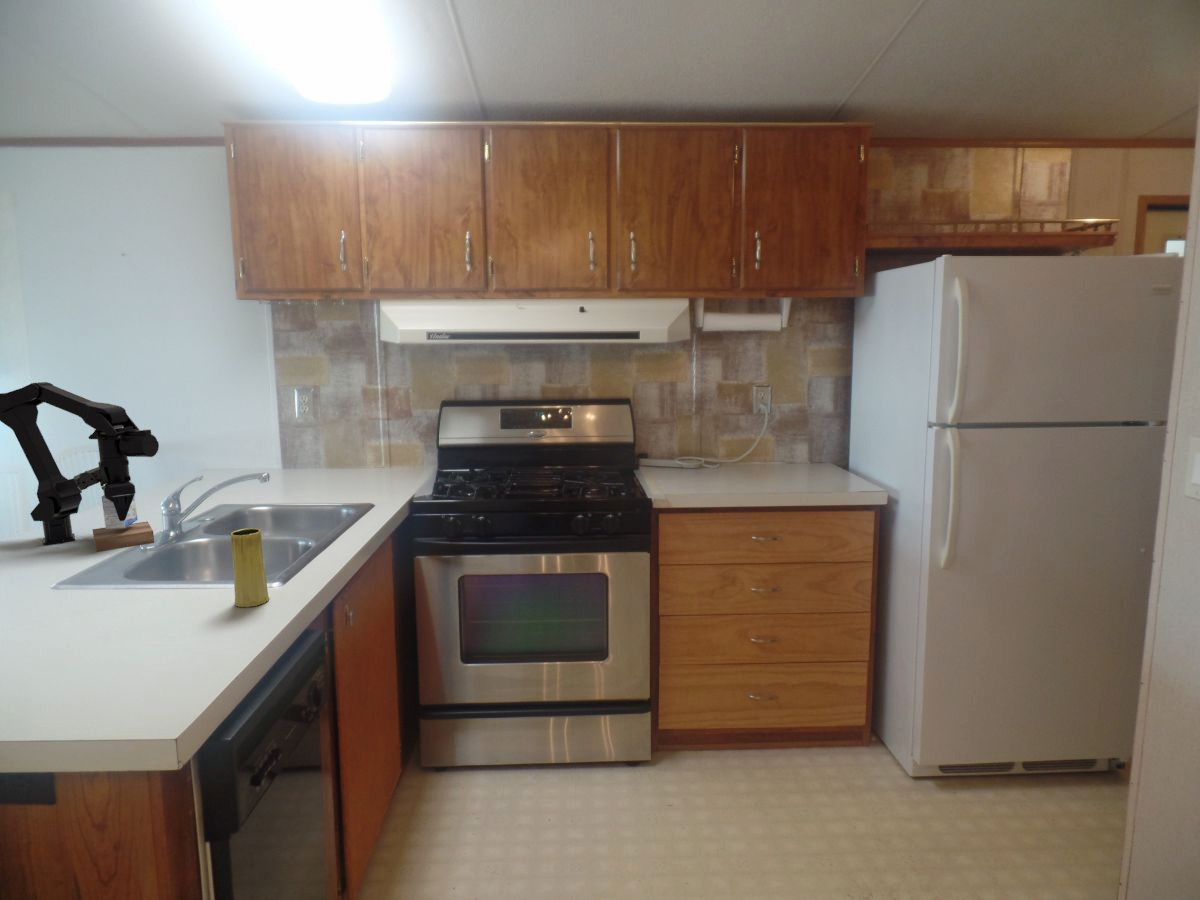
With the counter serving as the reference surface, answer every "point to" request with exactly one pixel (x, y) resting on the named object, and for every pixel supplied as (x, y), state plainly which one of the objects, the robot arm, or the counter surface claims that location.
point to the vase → (248, 568)
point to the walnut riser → (123, 536)
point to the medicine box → (112, 517)
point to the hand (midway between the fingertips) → (120, 517)
